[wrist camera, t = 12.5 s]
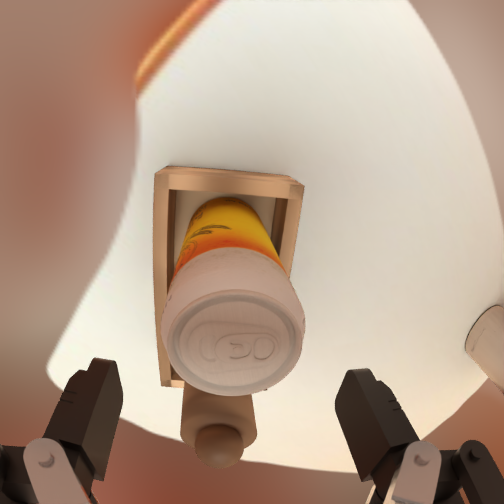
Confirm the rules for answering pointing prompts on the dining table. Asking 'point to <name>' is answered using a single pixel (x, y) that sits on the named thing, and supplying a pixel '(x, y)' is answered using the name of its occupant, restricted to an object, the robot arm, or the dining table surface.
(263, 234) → the beer can
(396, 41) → the dining table surface
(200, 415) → the caddy
